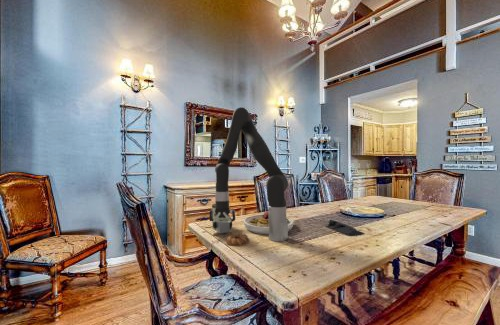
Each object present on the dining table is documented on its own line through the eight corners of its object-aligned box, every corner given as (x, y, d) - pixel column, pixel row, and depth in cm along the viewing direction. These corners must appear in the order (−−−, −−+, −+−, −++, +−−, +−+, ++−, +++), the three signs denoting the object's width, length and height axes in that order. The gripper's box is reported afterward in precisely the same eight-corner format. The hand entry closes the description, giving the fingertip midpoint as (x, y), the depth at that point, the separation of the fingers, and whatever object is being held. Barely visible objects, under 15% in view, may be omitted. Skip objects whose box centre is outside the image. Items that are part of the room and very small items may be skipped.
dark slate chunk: (345, 239, 120) (345, 230, 120) (322, 227, 141) (322, 219, 141) (369, 236, 123) (369, 228, 123) (343, 225, 145) (343, 218, 145)
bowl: (298, 236, 123) (298, 222, 123) (242, 236, 124) (242, 222, 123) (288, 221, 153) (288, 210, 153) (244, 221, 154) (244, 210, 153)
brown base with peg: (231, 234, 127) (231, 223, 127) (223, 237, 121) (223, 226, 121) (221, 231, 131) (221, 221, 131) (213, 235, 125) (213, 224, 125)
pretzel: (232, 248, 107) (232, 241, 107) (221, 242, 116) (221, 234, 116) (253, 243, 113) (253, 236, 113) (242, 237, 122) (241, 230, 122)
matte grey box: (226, 228, 129) (225, 220, 129) (229, 231, 124) (229, 222, 124) (216, 230, 127) (216, 221, 127) (219, 233, 122) (219, 224, 122)
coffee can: (229, 225, 145) (229, 203, 144) (227, 230, 134) (227, 206, 134) (213, 225, 145) (213, 203, 145) (210, 230, 134) (210, 206, 134)
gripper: (235, 198, 129) (236, 226, 129) (211, 198, 130) (211, 226, 130) (234, 200, 121) (234, 230, 122) (207, 200, 122) (208, 230, 123)
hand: (222, 228), depth 126 cm, fingers open, 8 cm apart
